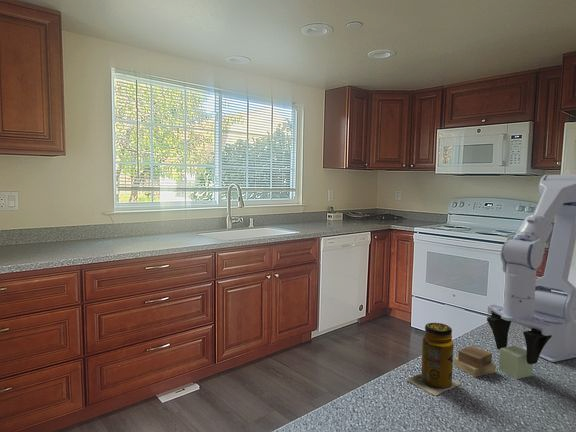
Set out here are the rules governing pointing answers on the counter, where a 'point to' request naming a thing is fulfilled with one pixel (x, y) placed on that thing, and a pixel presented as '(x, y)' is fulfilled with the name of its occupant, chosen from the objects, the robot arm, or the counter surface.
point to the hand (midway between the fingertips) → (516, 355)
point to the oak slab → (473, 370)
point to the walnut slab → (475, 357)
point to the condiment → (436, 360)
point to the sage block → (515, 362)
